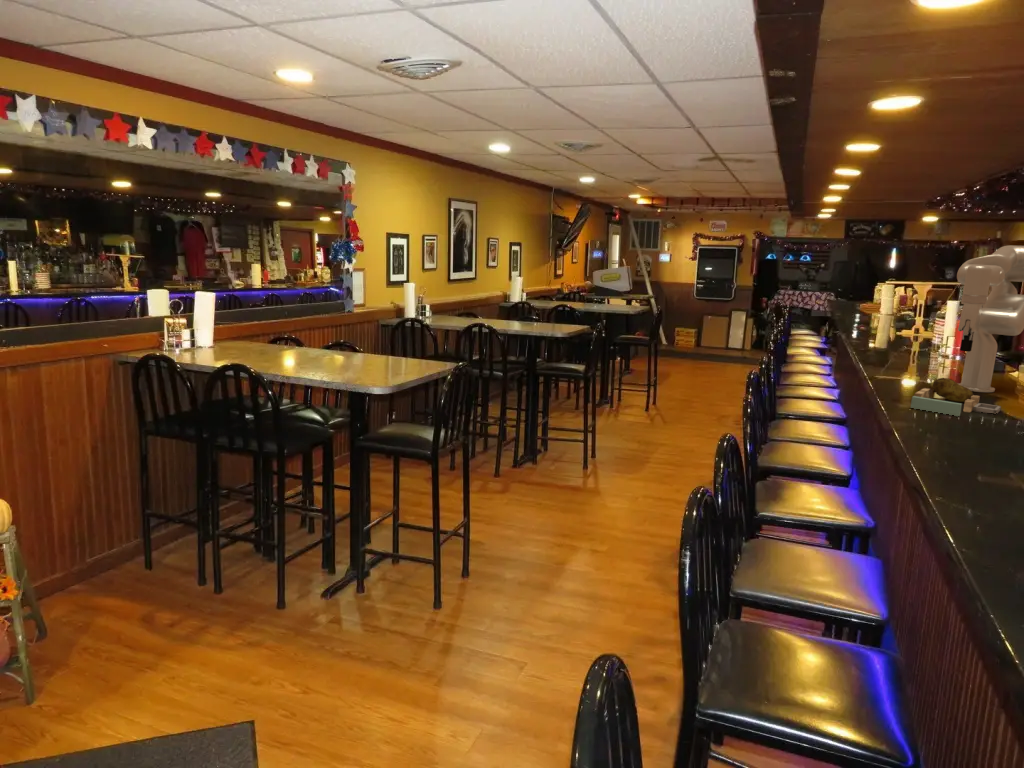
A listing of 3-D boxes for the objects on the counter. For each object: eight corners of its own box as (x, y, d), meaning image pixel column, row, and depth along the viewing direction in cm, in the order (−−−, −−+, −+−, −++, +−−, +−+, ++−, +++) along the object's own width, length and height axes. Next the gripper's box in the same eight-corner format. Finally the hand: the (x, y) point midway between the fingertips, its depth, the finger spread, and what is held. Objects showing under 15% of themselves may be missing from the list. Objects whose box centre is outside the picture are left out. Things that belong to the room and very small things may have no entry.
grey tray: (978, 407, 238) (978, 402, 238) (1000, 410, 234) (1001, 406, 234) (972, 411, 232) (973, 406, 231) (995, 414, 228) (996, 410, 227)
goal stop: (911, 407, 234) (913, 396, 233) (959, 415, 225) (961, 403, 224) (910, 408, 233) (912, 396, 232) (958, 416, 224) (960, 404, 223)
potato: (974, 405, 241) (978, 383, 239) (931, 400, 246) (934, 378, 244) (970, 400, 248) (974, 379, 246) (929, 396, 253) (932, 374, 252)
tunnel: (922, 397, 251) (924, 387, 250) (978, 406, 240) (979, 396, 239) (913, 403, 241) (914, 393, 240) (970, 412, 230) (971, 402, 229)
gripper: (966, 298, 256) (957, 347, 260) (957, 300, 245) (949, 351, 249) (990, 300, 251) (981, 350, 255) (982, 302, 240) (973, 354, 244)
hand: (965, 350), depth 252 cm, fingers closed
